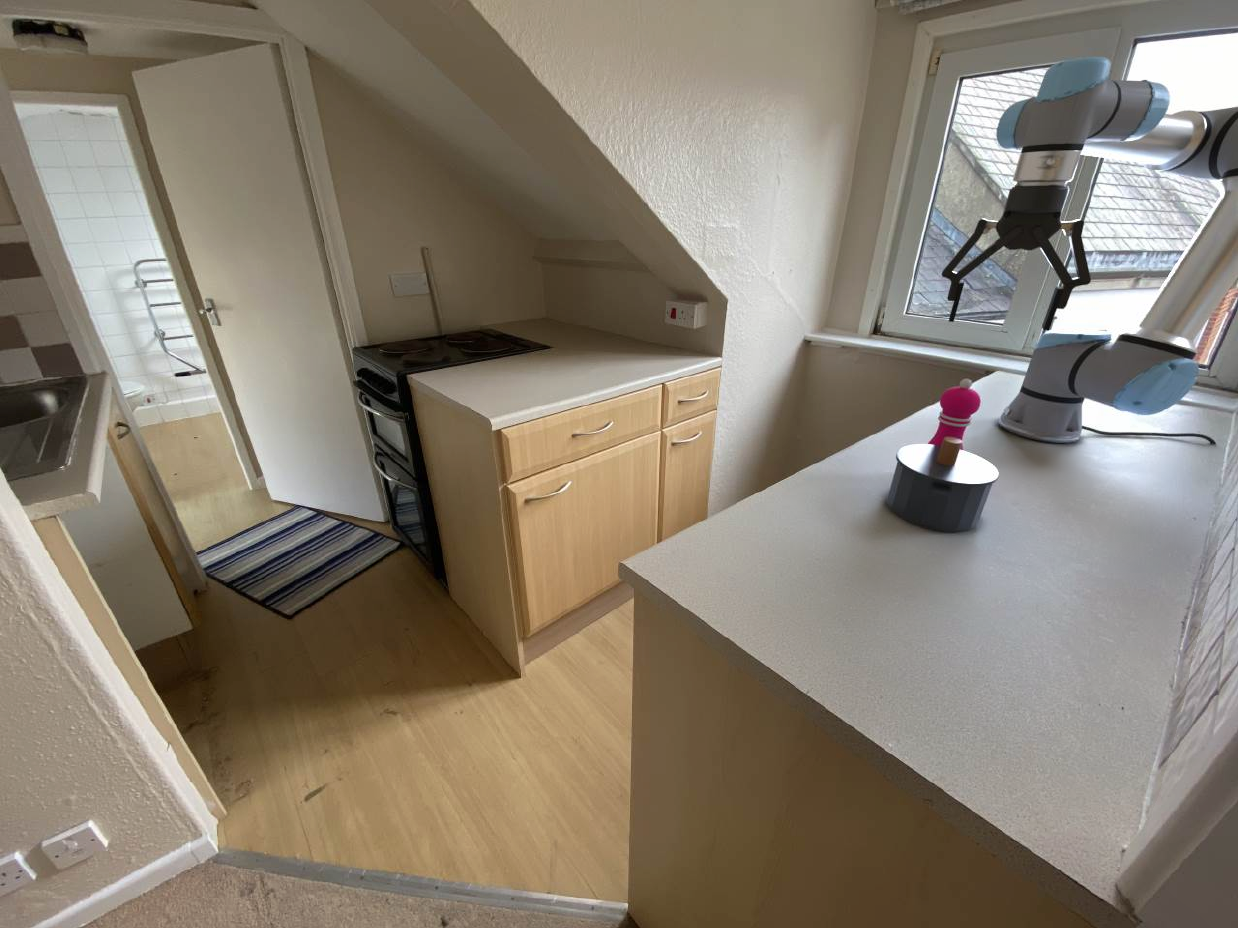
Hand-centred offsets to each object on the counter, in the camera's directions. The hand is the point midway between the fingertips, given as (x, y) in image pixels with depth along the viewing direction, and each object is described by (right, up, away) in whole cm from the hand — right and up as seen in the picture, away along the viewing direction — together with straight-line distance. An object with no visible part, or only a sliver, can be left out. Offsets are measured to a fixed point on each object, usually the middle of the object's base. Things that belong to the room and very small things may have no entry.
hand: (996, 324), depth 91 cm
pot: (-12, -32, -1) cm, 34 cm away
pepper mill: (-6, -27, +9) cm, 29 cm away
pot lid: (-12, -24, -4) cm, 27 cm away
